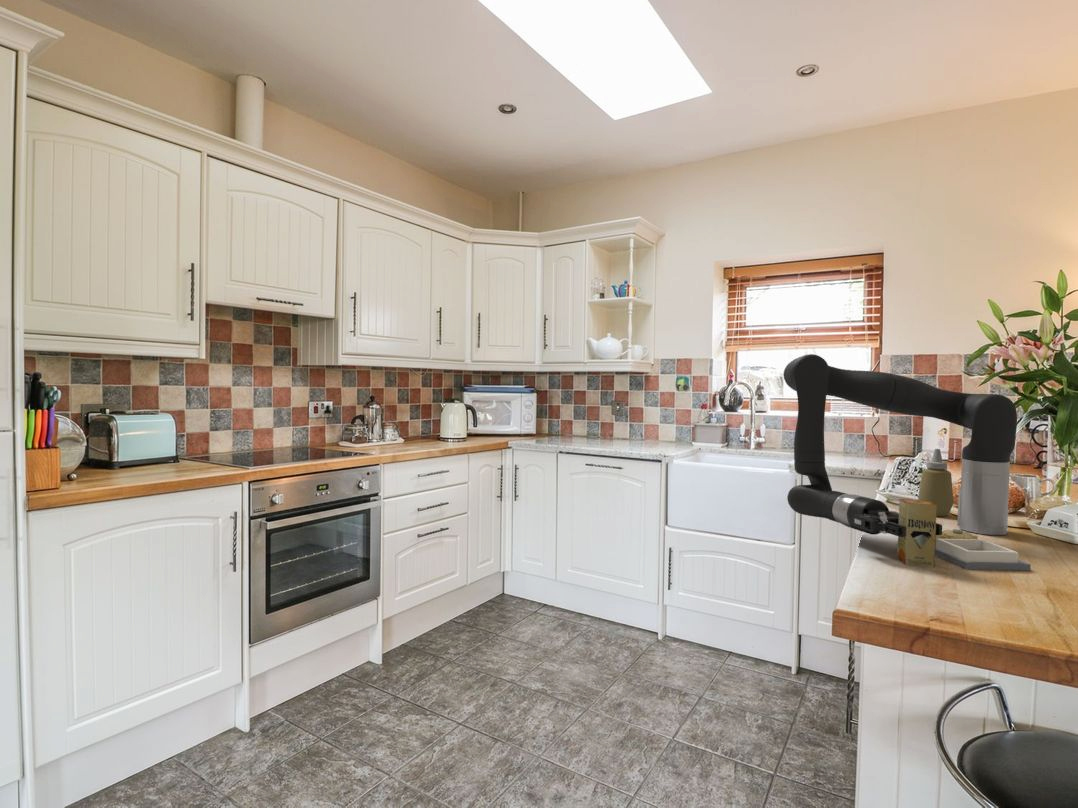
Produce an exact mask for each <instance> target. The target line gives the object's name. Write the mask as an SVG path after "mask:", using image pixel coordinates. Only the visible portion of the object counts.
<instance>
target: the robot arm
mask: <svg viewBox="0 0 1078 808" xmlns="http://www.w3.org/2000/svg"><path fill="white" fill-rule="evenodd" d="M783 379H784V382H785V383H786V386H788V387H789V388H790V389H791V390H792V391H795V392H796V397H797V420H796V427H795V430H794V431H795V432H794V441H793V460H794V462H793V465H794V466H793V467H794V471H795V473H796V474H798V475H801V476H807V478H808V480H809V483H810V484H798V485H795V486H793V487H792V488H790V490H789V491H788V493H787V499H786V500H787V504H788V505H789V507H790V508H791V509H792V510H793V511H794V512H796V513H797V514H800V515H804V516H809V517H816V518H821V519H827V520H830V521H833V522H836V523H838V524H841V525H843V526H844V527H848V528H850V529H853V530H857V531H860V532H863V533H866V534H868V535H869V534H870V535H873V536H874V535H879V534H884V535H885V534H889V535H893V536H896V537H897V538H898V537H905V536H906V527H905V526H903V525H899V511H897V510H890V509H889V507H888V506H887V504H886V503H885V502H883V501H881V500H878V499H876V498H875V499H874V498H871V497H866V496H861V495H859V494H853V493H852V494H850V493H845V492H842V491H837V490H833V488H832V485H831V482H830V479H829V475H828V473H827V469H826V463H825V462H826V451H825V417H826V416H825V412H826V401H827V396H829V397H836V398H840V399H843V400H846V401H850V402H853V403H856V404H858V405H863V406H867V407H870V408H873V409H877V410H881V411H886V412H890V413H896V414H902V415H907V416H915V417H926V418H933V419H937V420H942V421H945V422H948V423H951V424H954V425H958V426H961V427H963V428H966V429H969V430H971V436H970V437H971V438H970V441H969V443H968V444H967V445H965V446H964V447H963V448H962V451H961V475H960V476H961V478H960V480H961V481H960V487H959V488H958V494H957V495H958V496H957V497H958V502H957V523H956V524H957V526H958V527H959V529H960V530H962V531H964V532H968V533H975V534H980V535H990V536H1005V535H1008V523H1009V521H1008V520H1009V496H1010V495H1009V494H1010V470H1011V469H1010V466H1011V455H1012V453H1013V451H1014V449H1015V447H1016V446H1015V445H1016V437H1017V427H1018V411H1017V408H1016V405H1015V403H1014V402H1013V400H1012V399H1010V398H1009V397H1008V396H1005V395H1001V394H998V393H994V394H993V393H967V392H957V391H952V390H946V389H941V388H938V387H935V386H933V385H931V384H929V383H926V382H924V381H921V380H918V379H915V378H914V377H913V378H912V377H909V376H905V375H899V374H895V373H890V372H882V371H876V370H875V371H871V370H854V369H853V370H852V369H842V368H838V367H836V366H835V367H834V366H831V365H829V364H828V362H827V361H826V360H825V358H823V357H822V356H820V355H818V354H812V353H811V354H809V353H808V354H805V355H802V356H799V357H796V358H793V360H791V361H790V362H789V363H788V364H787V365H785V368H784V370H783ZM942 531H943V524H941V523H937V522H936V535H942Z"/></svg>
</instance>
